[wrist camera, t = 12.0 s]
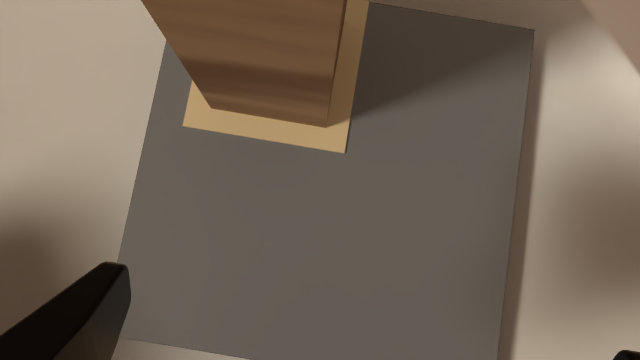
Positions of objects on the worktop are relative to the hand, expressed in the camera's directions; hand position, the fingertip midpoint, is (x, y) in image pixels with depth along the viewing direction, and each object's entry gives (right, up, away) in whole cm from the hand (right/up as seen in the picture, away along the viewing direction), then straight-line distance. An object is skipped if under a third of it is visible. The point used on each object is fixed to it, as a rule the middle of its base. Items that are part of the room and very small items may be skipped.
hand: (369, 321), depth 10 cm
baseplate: (-1, +3, +14) cm, 14 cm away
